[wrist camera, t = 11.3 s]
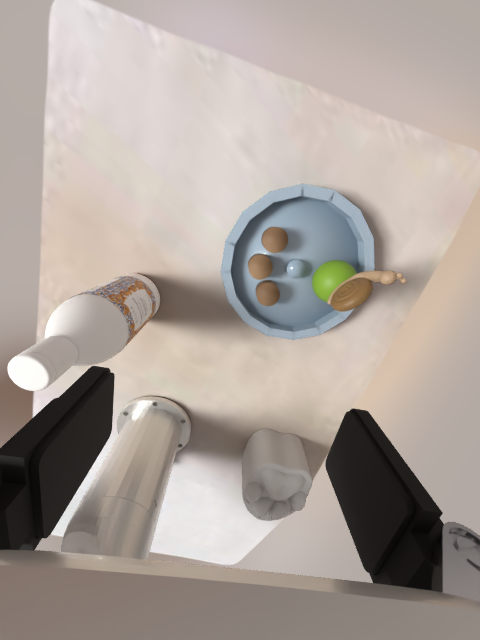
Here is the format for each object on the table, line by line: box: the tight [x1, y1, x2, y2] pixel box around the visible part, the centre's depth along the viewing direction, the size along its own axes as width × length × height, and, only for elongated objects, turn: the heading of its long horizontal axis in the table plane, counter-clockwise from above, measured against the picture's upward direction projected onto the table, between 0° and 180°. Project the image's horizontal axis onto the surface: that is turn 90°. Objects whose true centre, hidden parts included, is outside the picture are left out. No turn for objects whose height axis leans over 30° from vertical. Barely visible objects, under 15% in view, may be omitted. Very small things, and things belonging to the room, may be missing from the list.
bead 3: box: [255, 280, 280, 306], centre depth 34 cm, size 3×3×2 cm
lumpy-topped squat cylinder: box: [242, 429, 312, 521], centre depth 43 cm, size 10×13×9 cm
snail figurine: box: [312, 260, 407, 312], centre depth 29 cm, size 5×6×12 cm
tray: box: [221, 184, 375, 340], centre depth 33 cm, size 19×19×3 cm
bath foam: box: [8, 273, 160, 391], centre depth 27 cm, size 7×7×20 cm
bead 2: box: [248, 253, 273, 280], centre depth 32 cm, size 3×3×2 cm
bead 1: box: [261, 227, 288, 253], centre depth 31 cm, size 3×3×2 cm
